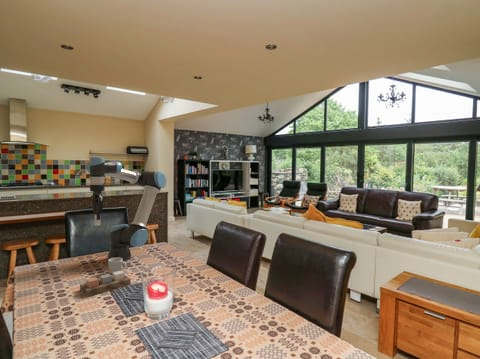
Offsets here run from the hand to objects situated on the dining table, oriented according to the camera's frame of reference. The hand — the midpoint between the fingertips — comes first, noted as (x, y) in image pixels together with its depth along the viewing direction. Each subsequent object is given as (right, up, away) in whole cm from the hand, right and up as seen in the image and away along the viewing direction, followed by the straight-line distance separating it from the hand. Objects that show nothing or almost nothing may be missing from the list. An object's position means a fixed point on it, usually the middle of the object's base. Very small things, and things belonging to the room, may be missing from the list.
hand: (97, 225), depth 163 cm
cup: (+9, -30, +6) cm, 31 cm away
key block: (+11, -30, -14) cm, 35 cm away
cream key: (+16, -29, -9) cm, 34 cm away
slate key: (+11, -29, -14) cm, 34 cm away
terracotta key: (+7, -29, -19) cm, 35 cm away
